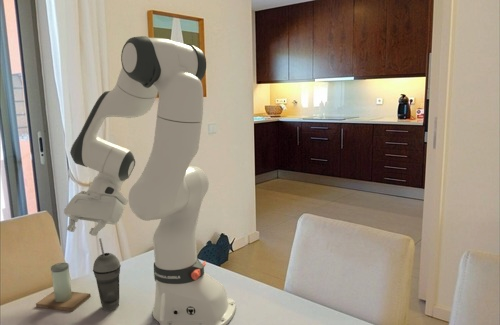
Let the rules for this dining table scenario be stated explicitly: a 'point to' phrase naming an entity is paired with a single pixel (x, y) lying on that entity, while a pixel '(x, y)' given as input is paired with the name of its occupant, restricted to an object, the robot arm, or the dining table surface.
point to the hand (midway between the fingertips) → (80, 232)
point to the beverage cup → (107, 279)
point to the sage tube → (61, 282)
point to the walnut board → (68, 305)
